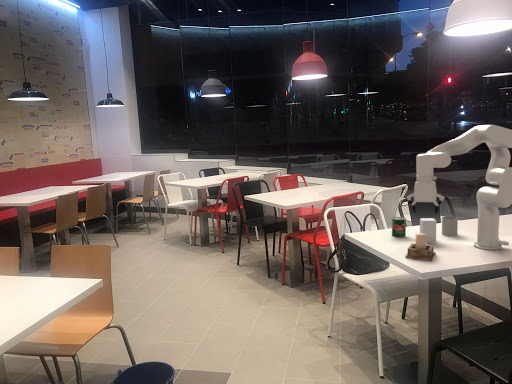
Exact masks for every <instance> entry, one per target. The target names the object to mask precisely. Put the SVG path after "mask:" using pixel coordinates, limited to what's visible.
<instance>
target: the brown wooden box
mask: <svg viewBox="0 0 512 384" xmlns="http://www.w3.org/2000/svg"><path fill="white" fill-rule="evenodd" d="M434 247H435V246H434V245H433V244H426V250H422V249H415V243H411V244H410V245H409V246H408V248H407V253H406V255H405V258H406V259H413V260H422V261H430V262H433V259H434V258H435V255H436V251H434Z"/></svg>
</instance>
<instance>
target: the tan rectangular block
mask: <svg viewBox="0 0 512 384" xmlns="http://www.w3.org/2000/svg"><path fill="white" fill-rule="evenodd" d="M414 240H415V242H414V244H415V249H422V250H426V245H427V243H426V234H424V233H420V232H416V233H415V239H414Z"/></svg>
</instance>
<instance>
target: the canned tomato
mask: <svg viewBox="0 0 512 384" xmlns="http://www.w3.org/2000/svg"><path fill="white" fill-rule="evenodd" d="M406 219H407V217H405V216H393V217H391V237H393V238H396V239H398V238H399V239H401V238H406V234H407V233H406V232H407V230H406V228H407V227H406V225H407V220H406Z"/></svg>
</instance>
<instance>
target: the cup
mask: <svg viewBox="0 0 512 384" xmlns="http://www.w3.org/2000/svg"><path fill="white" fill-rule="evenodd" d="M458 219H459V218H458V217H456V216H442V217H441V235H442V236H446V237H457V236H458V221H459V220H458Z"/></svg>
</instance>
